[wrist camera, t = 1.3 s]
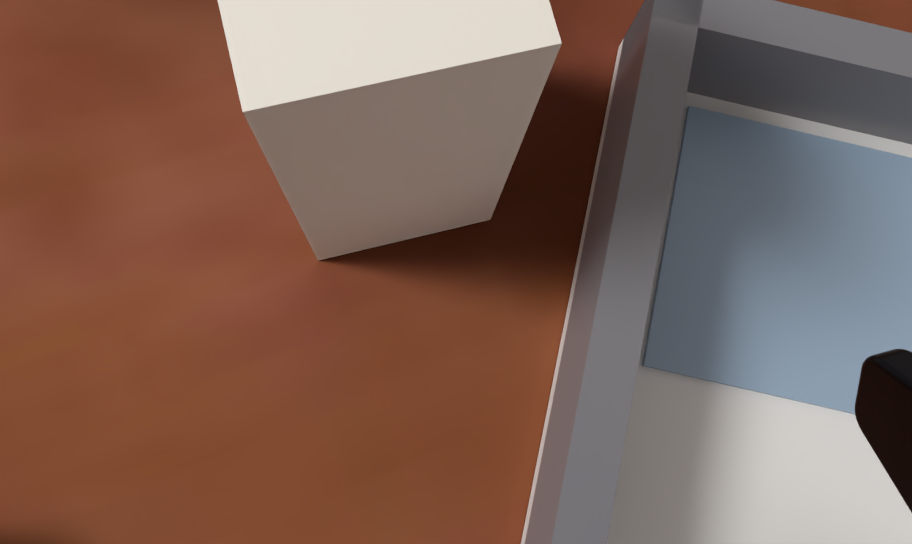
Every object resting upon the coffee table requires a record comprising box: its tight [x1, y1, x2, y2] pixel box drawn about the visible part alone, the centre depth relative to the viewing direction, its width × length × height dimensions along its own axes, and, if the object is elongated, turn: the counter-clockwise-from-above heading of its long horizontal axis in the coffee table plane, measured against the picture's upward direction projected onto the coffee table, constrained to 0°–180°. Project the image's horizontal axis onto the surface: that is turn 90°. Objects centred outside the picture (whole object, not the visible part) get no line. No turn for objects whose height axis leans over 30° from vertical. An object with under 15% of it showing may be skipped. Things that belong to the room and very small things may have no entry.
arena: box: [521, 0, 912, 544], centre depth 21 cm, size 17×12×4 cm
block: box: [218, 0, 562, 261], centre depth 19 cm, size 5×5×11 cm
